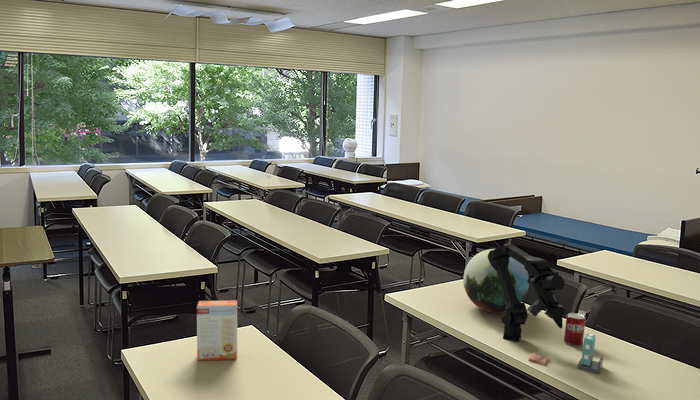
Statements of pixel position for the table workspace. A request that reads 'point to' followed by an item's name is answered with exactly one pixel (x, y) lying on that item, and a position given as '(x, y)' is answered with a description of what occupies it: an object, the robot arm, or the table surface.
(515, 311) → the robot arm
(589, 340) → the key two
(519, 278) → the decorative globe
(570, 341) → the soda can
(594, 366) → the key two base
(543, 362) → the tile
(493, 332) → the table surface
